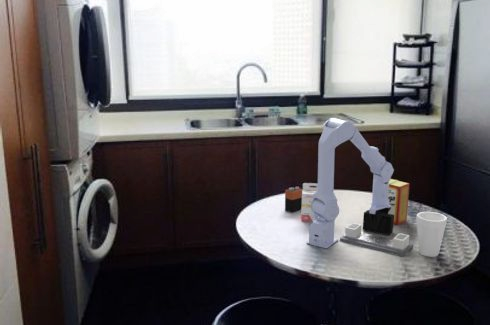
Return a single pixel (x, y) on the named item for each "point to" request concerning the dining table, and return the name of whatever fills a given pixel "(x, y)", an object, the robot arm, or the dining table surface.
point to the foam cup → (430, 232)
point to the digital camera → (384, 226)
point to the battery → (293, 199)
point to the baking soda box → (398, 200)
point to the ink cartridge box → (308, 201)
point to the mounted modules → (398, 241)
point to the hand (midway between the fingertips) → (378, 226)
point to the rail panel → (376, 243)
